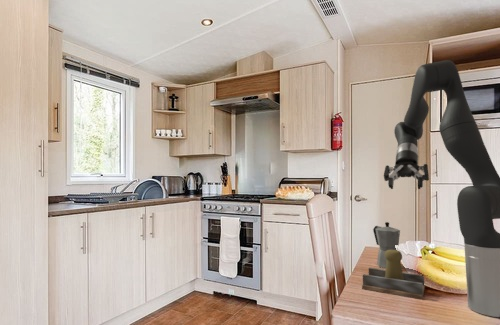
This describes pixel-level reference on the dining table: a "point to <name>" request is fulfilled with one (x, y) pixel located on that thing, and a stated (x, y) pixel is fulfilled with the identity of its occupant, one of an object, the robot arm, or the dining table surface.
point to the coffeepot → (385, 241)
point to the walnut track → (394, 283)
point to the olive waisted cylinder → (393, 264)
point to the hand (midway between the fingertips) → (404, 187)
